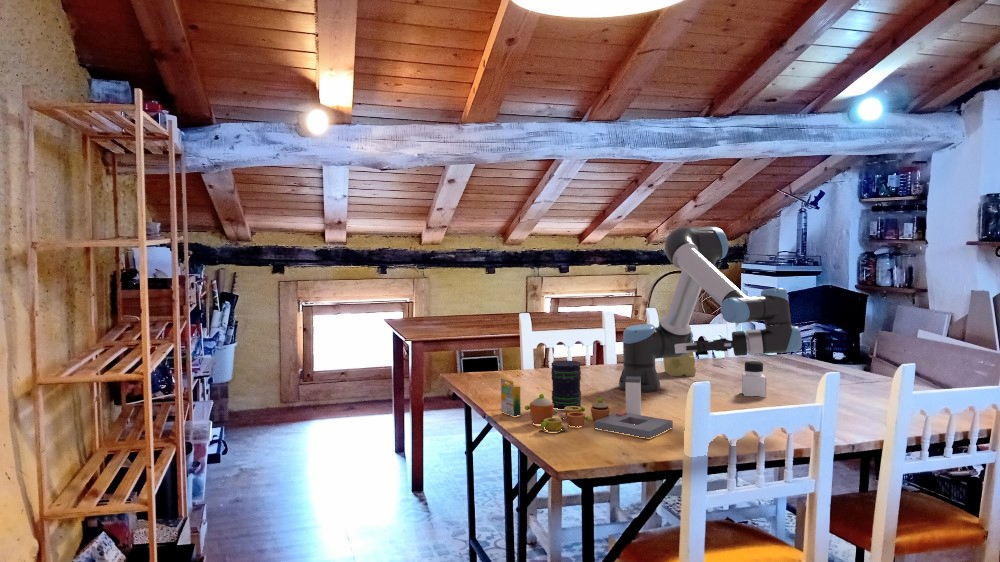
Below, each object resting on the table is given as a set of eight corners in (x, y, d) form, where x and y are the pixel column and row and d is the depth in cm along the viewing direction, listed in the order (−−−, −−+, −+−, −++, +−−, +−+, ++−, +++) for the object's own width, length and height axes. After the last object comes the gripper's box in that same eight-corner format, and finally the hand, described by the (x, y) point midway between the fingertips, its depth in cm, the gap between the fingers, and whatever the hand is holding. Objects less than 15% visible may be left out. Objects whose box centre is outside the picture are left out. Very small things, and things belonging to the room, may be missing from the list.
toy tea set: (548, 437, 196) (548, 404, 196) (519, 425, 210) (518, 394, 209) (618, 423, 210) (618, 392, 209) (586, 412, 223) (586, 383, 223)
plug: (625, 416, 216) (625, 379, 215) (626, 413, 220) (626, 376, 219) (640, 417, 215) (640, 379, 214) (640, 413, 219) (640, 376, 218)
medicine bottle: (766, 397, 237) (766, 363, 237) (744, 397, 239) (744, 363, 238) (762, 393, 244) (762, 359, 244) (741, 392, 246) (741, 359, 245)
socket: (594, 429, 202) (594, 419, 202) (619, 419, 213) (619, 409, 213) (649, 440, 191) (649, 429, 190) (672, 429, 201) (672, 418, 201)
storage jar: (546, 405, 232) (546, 362, 231) (572, 402, 236) (571, 359, 235) (560, 412, 223) (560, 366, 222) (586, 408, 227) (586, 364, 226)
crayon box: (521, 416, 219) (520, 380, 218) (513, 418, 217) (512, 381, 216) (508, 412, 225) (508, 377, 224) (501, 413, 223) (500, 378, 223)
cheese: (695, 376, 276) (695, 351, 276) (669, 376, 276) (669, 352, 276) (689, 371, 287) (689, 347, 286) (663, 371, 287) (663, 348, 286)
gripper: (751, 356, 198) (675, 362, 204) (745, 354, 222) (677, 359, 228) (747, 330, 199) (673, 336, 205) (742, 330, 223) (675, 336, 229)
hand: (675, 348), depth 216 cm, fingers open, 13 cm apart
